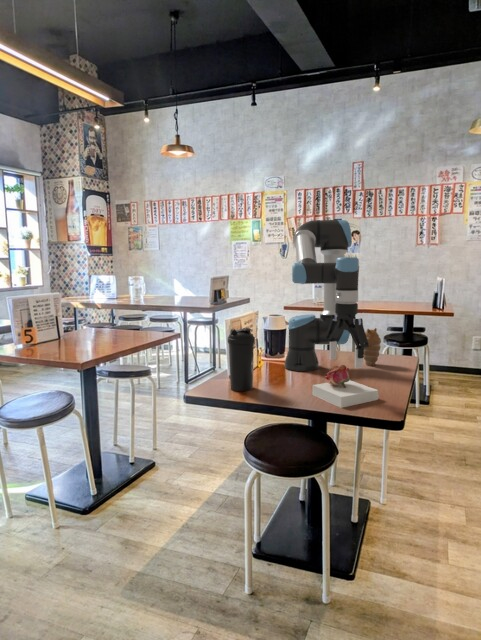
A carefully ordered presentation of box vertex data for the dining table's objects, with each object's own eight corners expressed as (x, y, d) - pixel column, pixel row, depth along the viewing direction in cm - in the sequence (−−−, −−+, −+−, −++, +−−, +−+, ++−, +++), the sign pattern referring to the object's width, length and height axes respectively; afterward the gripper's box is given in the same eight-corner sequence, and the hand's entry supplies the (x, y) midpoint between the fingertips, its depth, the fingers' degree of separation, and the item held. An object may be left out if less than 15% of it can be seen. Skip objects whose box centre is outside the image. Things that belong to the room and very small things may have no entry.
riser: (312, 395, 162) (312, 385, 162) (347, 389, 169) (347, 379, 169) (341, 408, 148) (341, 397, 148) (378, 401, 155) (378, 390, 155)
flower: (354, 379, 153) (343, 359, 156) (331, 392, 155) (320, 372, 158) (358, 383, 162) (346, 364, 165) (335, 396, 163) (324, 377, 167)
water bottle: (257, 391, 169) (256, 330, 166) (230, 392, 167) (229, 331, 164) (252, 383, 179) (251, 326, 176) (226, 385, 177) (225, 327, 174)
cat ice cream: (369, 370, 197) (370, 330, 194) (356, 367, 204) (357, 327, 201) (384, 368, 201) (385, 328, 199) (371, 364, 208) (372, 326, 206)
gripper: (315, 300, 164) (315, 357, 167) (363, 306, 141) (361, 372, 144) (332, 299, 167) (331, 355, 170) (381, 305, 145) (379, 369, 148)
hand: (345, 363), depth 157 cm, fingers open, 13 cm apart
